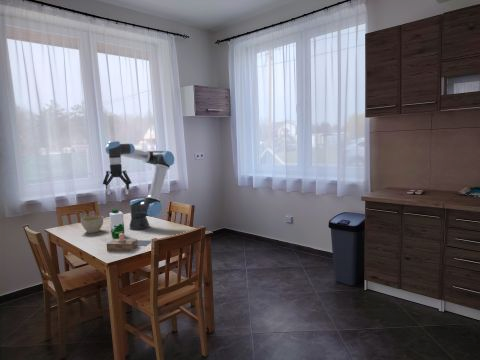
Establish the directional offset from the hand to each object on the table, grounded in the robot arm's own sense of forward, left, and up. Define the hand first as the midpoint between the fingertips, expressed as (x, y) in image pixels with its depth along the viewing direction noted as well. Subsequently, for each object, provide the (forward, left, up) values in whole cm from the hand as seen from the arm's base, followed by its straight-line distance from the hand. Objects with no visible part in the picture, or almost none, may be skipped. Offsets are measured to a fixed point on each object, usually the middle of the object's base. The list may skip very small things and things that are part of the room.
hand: (118, 194), depth 232 cm
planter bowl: (-19, -34, -33) cm, 51 cm away
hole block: (+19, +11, -33) cm, 39 cm away
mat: (+8, +19, -33) cm, 39 cm away
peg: (+19, +11, -33) cm, 39 cm away
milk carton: (-6, -6, -33) cm, 34 cm away
